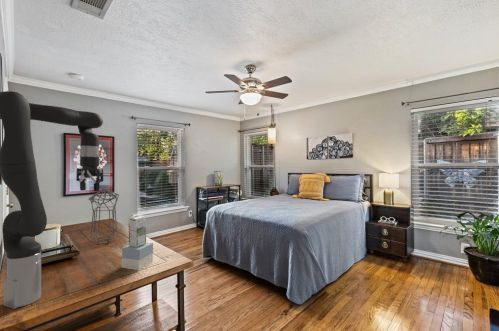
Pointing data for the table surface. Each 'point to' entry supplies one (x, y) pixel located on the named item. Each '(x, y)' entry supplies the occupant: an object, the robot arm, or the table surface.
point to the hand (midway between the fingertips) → (89, 190)
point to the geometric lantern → (103, 210)
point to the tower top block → (137, 251)
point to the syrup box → (137, 231)
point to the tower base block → (137, 262)
